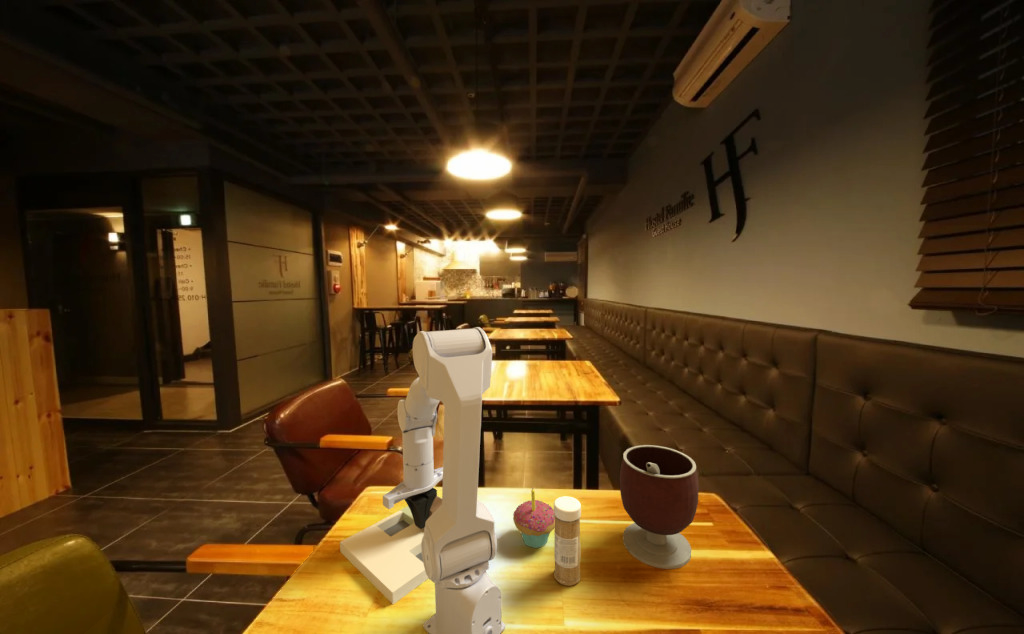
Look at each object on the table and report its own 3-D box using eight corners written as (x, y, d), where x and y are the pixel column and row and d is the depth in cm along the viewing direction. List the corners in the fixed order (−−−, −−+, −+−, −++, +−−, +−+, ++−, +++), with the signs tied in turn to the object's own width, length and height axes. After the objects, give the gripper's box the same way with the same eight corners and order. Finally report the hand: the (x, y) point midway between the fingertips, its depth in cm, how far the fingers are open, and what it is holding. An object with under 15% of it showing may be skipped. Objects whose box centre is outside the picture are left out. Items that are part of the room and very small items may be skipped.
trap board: (482, 538, 74) (482, 521, 74) (393, 604, 59) (392, 583, 59) (427, 504, 86) (426, 489, 86) (340, 552, 71) (339, 534, 71)
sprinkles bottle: (582, 571, 66) (583, 498, 65) (576, 590, 62) (577, 513, 60) (557, 563, 68) (558, 492, 66) (550, 582, 64) (550, 506, 62)
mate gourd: (629, 514, 82) (631, 425, 80) (700, 537, 74) (704, 439, 73) (606, 558, 69) (608, 453, 67) (689, 591, 61) (693, 474, 60)
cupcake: (554, 557, 69) (554, 495, 68) (509, 551, 71) (508, 491, 70) (557, 528, 78) (558, 472, 76) (517, 523, 79) (517, 468, 78)
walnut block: (448, 521, 77) (447, 502, 76) (432, 531, 74) (432, 511, 73) (436, 513, 79) (435, 495, 79) (420, 522, 76) (419, 504, 76)
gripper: (435, 441, 81) (437, 501, 82) (372, 467, 70) (375, 535, 71) (457, 451, 76) (458, 514, 77) (393, 479, 65) (396, 553, 66)
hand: (420, 525), depth 74 cm, fingers closed
